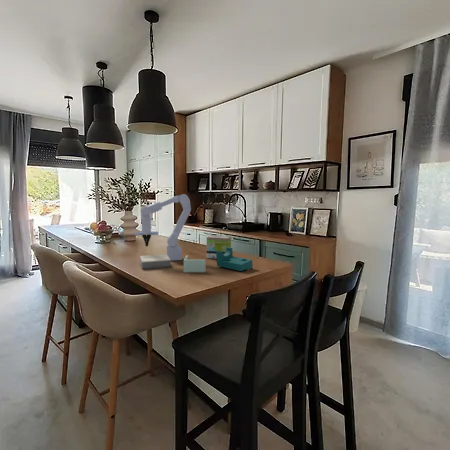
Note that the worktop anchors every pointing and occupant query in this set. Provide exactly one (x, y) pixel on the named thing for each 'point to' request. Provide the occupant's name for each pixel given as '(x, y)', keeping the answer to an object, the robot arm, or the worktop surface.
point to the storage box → (154, 264)
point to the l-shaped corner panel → (194, 265)
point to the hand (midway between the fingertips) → (146, 246)
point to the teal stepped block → (232, 261)
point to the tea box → (217, 245)
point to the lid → (154, 258)
